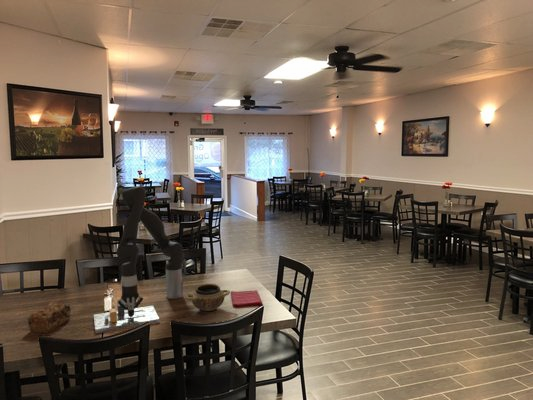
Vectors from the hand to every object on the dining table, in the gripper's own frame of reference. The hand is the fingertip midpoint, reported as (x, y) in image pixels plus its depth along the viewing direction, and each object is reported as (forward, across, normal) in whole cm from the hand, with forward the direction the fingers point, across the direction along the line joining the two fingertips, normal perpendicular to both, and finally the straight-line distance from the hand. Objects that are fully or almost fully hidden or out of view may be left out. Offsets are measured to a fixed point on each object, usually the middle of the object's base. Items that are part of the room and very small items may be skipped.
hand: (131, 316), depth 208 cm
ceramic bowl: (+3, -40, +2) cm, 40 cm away
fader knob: (0, +9, +1) cm, 9 cm away
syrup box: (+3, -1, -28) cm, 28 cm away
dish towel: (+4, -65, -5) cm, 65 cm away
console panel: (+3, +2, -2) cm, 4 cm away
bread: (+3, +37, -12) cm, 39 cm away
